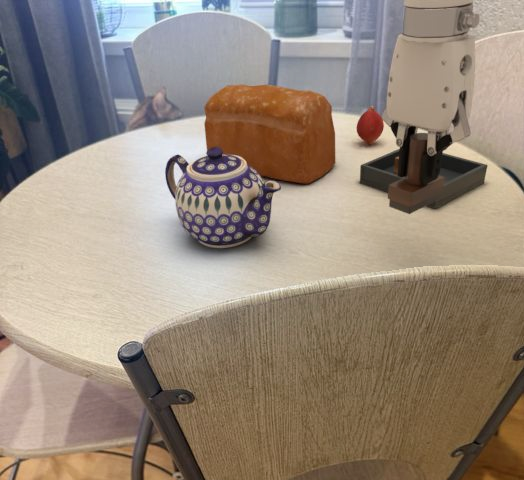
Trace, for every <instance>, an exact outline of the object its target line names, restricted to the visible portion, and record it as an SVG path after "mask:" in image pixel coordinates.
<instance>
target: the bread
mask: <svg viewBox="0 0 524 480" xmlns="http://www.w3.org/2000/svg"><path fill="white" fill-rule="evenodd" d="M332 111H333V106H332V105H331V104H330V102H329V101H328V99H327V98H326V96H325V95H323V94H321V93H319V92H315V91H312V90H299V89H294V88H288V87H285V86H278V85H272V84H259V85H249V84H242V83H241V84H240V83H238V84H231V85H230V84H229V85H226V86H224V87H222V88H220V90H218V91H217V92H215V93H214V94H213V95H211V96H210V97H209V98H208V100H207V102H206V103H205V105H204V114H205V120H204V132H205V133H204V135H205V143H206V144H205V146H206V151H207V150H208V149H210V148H212V147H220V148H221V149H222V150H223V154H228V155H236V156H240V157H242V158H243V159H244V160H245V161H246V163H247V165H248V166H250V167H252V168H253V169H254V170H256V172H257V173H258V174H259V175H260V176H261V177H265V178H269V179H274V180H279V181H282V182H283V181H284V182H291V183H299V184H310V183H313V182H314V181H316V180H318V179H320V178H322V177H323V176H324V175H326V174H327V173H328V172H329V171H330V170H331V169H332V168H333V167H334V166H335V164H336V129H335V124H334V121H333V115H332V114H333V112H332Z"/></svg>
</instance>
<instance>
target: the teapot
mask: <svg viewBox="0 0 524 480" xmlns="http://www.w3.org/2000/svg"><path fill="white" fill-rule="evenodd" d="M175 164H177V166H178V167H179V169H180V171H181V173H182V175H181V176H180V178H179V179H178V180H177V184H176V180H175ZM164 174H165V182H166V185H167V189H168V192H169V193H170V194H171V196H172V198H173V199H174V201H175V209H176V213H177V216H178V220H179V222H180V224H181V226H182V228H183V230H184V232H186V234H188V235H189V236H190V237H191V238H193V239H194V240H196V241H198V242H199V243H200V244H201V245H203V246H205V247H207V248H213V249H227V248H232V247H236V246H240V245H242V244H244V243H246V242H248V241H249V240H250V239H252V237H253V238H254V237H258V236H261V235H263V234H264V233H265V232H266V231H267V229H268V227H269V225H270V222H271V217H272V203H273V202H272V201H273V197H274V196H273V195H274V193H277V192H279V191H281V189H282V186H281V184H280V183H279V182H277V181H275V180H267V181H263V178H262V176H260V175H259V174H258V173H257V172H256V170H254V169H253V168H252V167H250V166H248V165H247V163H246V161H245V160H244V159H243V158H242V157H240V156H236V155H228V154H223V150H222V149H221V148H220V147H212V148H210V149H208V150H207V149H206V155H205V156H202V157H200V158H198V159H195V160H193V161H191V162H190V163H189V162H188V161H187V159H185V158H184V157H183V156H182V155H180V154H174V155H172V156H171V157H169V159H168V160H167V161H166V165H165V170H164Z"/></svg>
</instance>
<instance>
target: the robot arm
mask: <svg viewBox="0 0 524 480" xmlns="http://www.w3.org/2000/svg"><path fill="white" fill-rule="evenodd" d="M473 10H474V0H403V10H402V24H401V33H400V34H399V35H397V38H396V42H395V45H394V50H393V54H392V57H391V58H392V59H391V63H390V70H389V76H388V82H387V91H386V105H385V108H384V110H383V111H382V114H381V117H382V120H383V123H384V124H386V125H387V126H388V127H389V128H390V130H391V132H392V134H393V135H394V138H395V145H396V147H398V148H399V149H400V150H399V160H398V177H401V178H402V177H404V176H406V173H407V163H408V153H409V144H410V136H411V135H412V134H416V133H418V131H419V128H420V129H424V130H427V133H428V139H427V153H426V154H424V155H423V157H422V164H421V173H420V184H423V185H425V184H427V183H430V182H432V181H434V180H436V179H437V178H438V175H439V173H440V167H441V160H442V153H444V152H445V151H447V149H448V148H449V147H450V146H452V145H453V144H454V143H457V142H460V141H463V140H465V139H467V138H469V137H471V134H472V132H471V127H470V124H469V120H470V117H471V112H472V106H473V97H474V90H475V89H474V88H475V78H476V42H475V41H476V40H475V35H471V34H469V32H470V31H471V29H476V27H478V25H479V23H480V14H479V13H474V12H473ZM451 126H453V131H452V132H450V128H451Z"/></svg>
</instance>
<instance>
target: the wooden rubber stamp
mask: <svg viewBox="0 0 524 480" xmlns="http://www.w3.org/2000/svg"><path fill="white" fill-rule="evenodd" d="M427 139H428V132H417V133H416V134H412V135H411V136H410V144H409V153H408V163H407V173H406V177H405V178H403V179H401V180H399V181H396V182H394V183H392V184H390V185H389V188H388V192H387V200H389V204H388V207H389V208H392V209H394V210H397V211H400V212H402V213H404V214H408V215H410V214H413V213H414V212H416V211H419V210H421V209H422V208H424V207H425V208H426V207H428V206H427V205H429V204H430V203H432V202H434V201H436V200H438V199H439V198H440V192H442V191H443V185H444V178H445V177H442V176H439V175H438V178H437V179H436V180H434V181H432V182H430V183H427V184H425V185H423V184H420V173H421V164H422V157H423V155H424V154H426V153H427Z"/></svg>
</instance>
